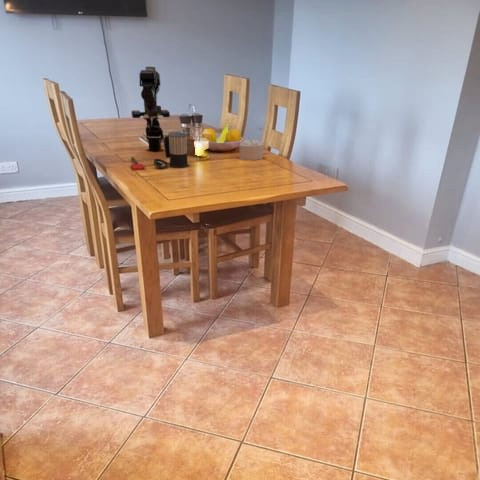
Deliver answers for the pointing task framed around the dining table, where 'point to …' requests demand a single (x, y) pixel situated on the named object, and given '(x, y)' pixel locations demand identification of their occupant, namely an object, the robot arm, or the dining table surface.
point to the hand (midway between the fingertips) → (151, 131)
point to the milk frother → (174, 151)
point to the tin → (191, 147)
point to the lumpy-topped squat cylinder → (251, 150)
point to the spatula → (137, 165)
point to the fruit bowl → (223, 139)
